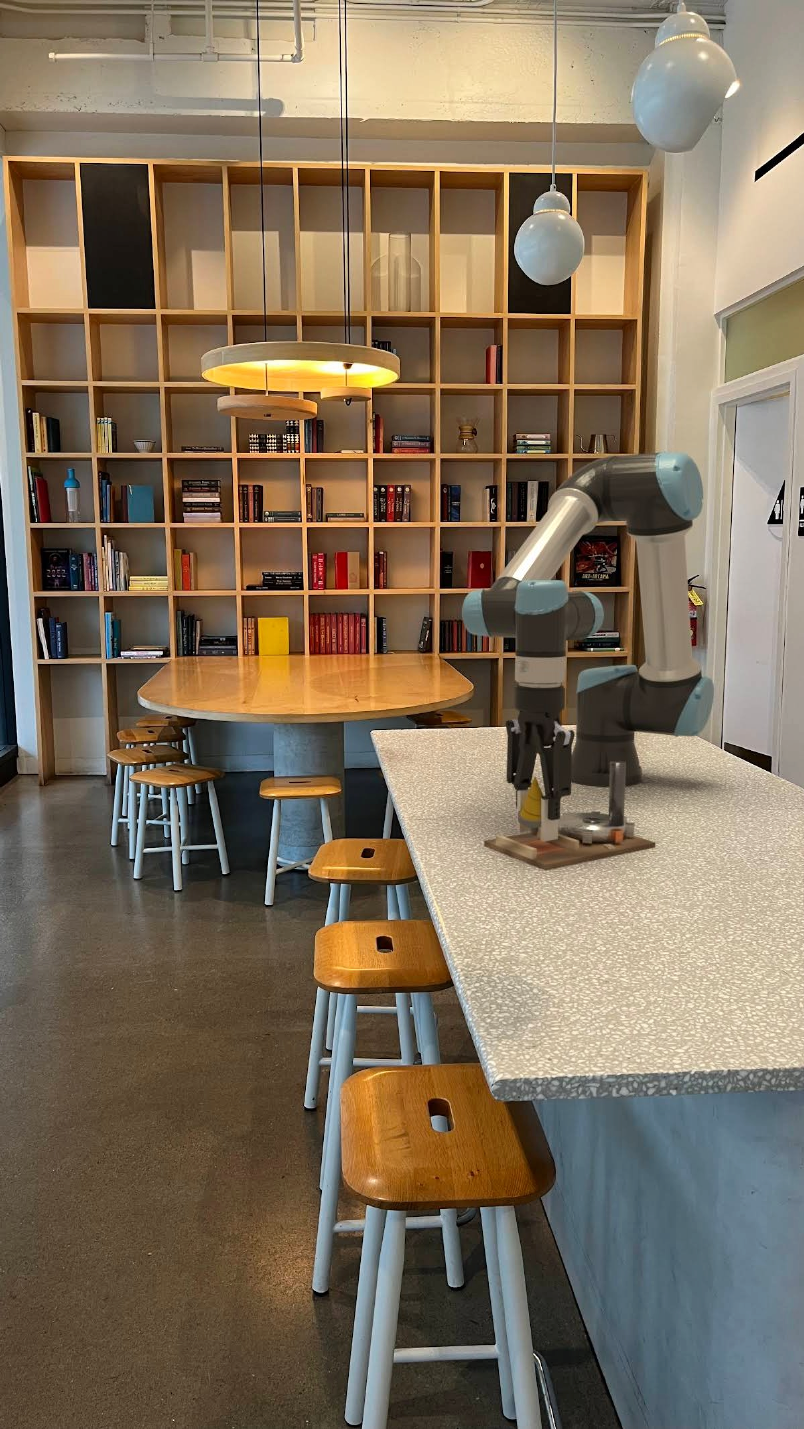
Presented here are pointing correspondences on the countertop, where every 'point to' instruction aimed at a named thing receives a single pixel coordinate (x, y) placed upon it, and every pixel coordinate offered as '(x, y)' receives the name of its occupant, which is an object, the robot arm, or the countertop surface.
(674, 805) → the countertop surface
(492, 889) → the countertop surface
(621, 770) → the sprocket
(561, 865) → the brown wooden board
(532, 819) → the drill bit
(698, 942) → the countertop surface
